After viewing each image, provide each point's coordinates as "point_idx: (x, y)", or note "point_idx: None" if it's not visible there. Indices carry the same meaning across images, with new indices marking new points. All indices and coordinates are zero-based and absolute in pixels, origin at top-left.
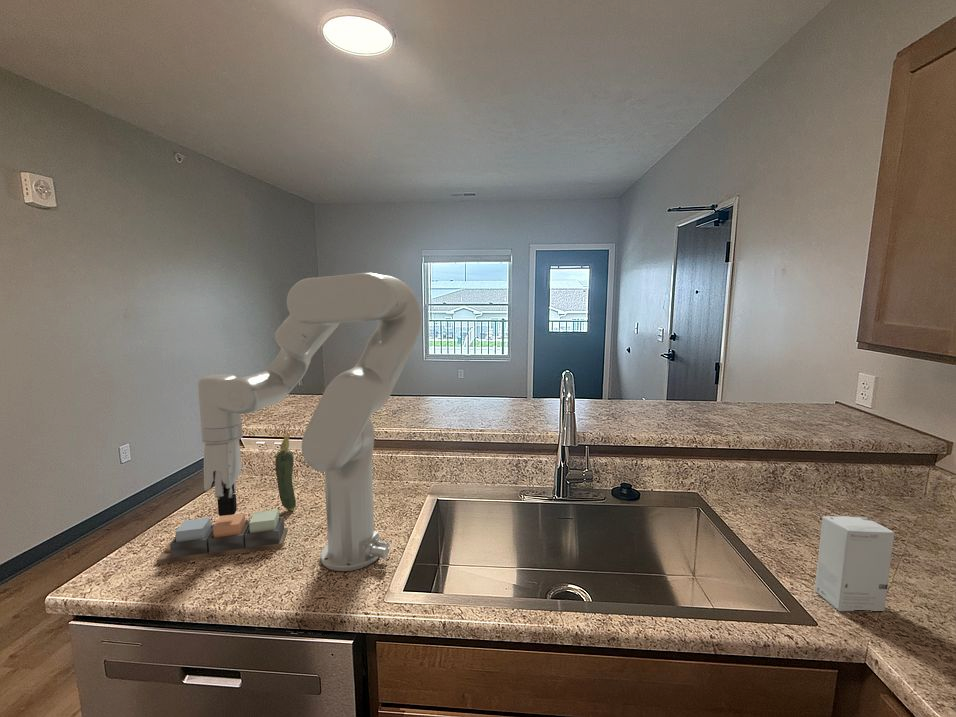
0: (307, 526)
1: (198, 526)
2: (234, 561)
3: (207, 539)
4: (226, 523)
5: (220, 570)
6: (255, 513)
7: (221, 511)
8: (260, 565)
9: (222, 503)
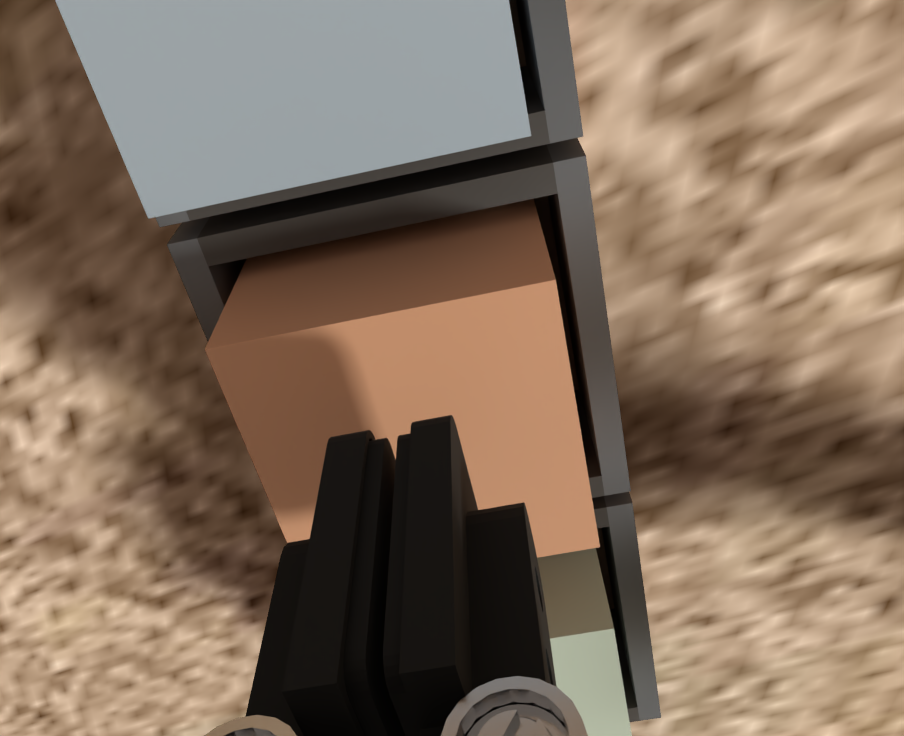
0: (698, 691)
1: (201, 116)
2: (183, 413)
3: (201, 212)
4: (317, 465)
5: (41, 369)
6: (577, 645)
7: (282, 553)
8: (156, 596)
9: (269, 691)
